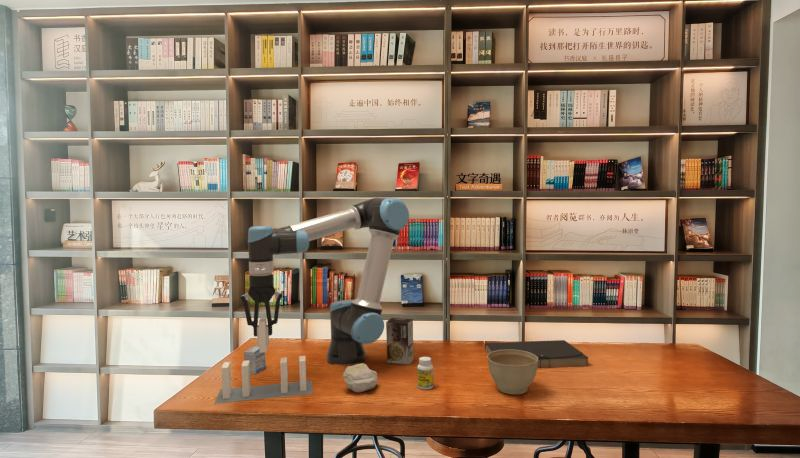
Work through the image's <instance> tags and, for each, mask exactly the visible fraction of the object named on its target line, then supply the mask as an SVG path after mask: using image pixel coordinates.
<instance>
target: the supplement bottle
mask: <svg viewBox="0 0 800 458" xmlns="http://www.w3.org/2000/svg"><path fill="white" fill-rule="evenodd" d="M418 363H419V364H418V365H417V370H416V371H417V380H416V381H417V387H418V388H419V389H420V390H431V389H432V388H433V387H434V385H435V384H434V383H435V382H434V365H433V364H432V357H429V356H422V357H419V358H418Z"/></svg>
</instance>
